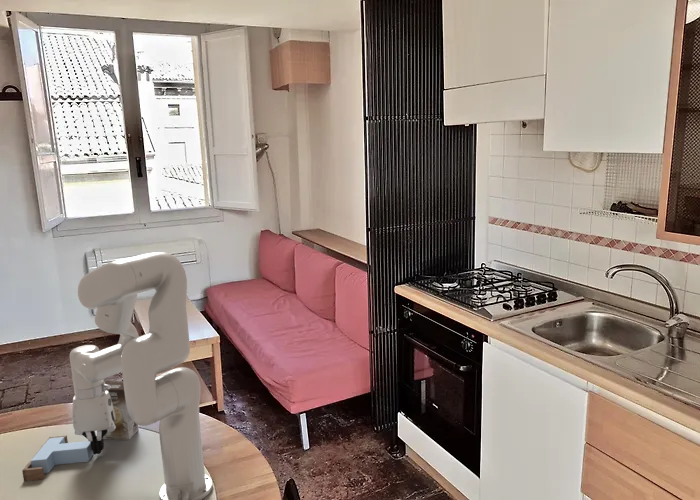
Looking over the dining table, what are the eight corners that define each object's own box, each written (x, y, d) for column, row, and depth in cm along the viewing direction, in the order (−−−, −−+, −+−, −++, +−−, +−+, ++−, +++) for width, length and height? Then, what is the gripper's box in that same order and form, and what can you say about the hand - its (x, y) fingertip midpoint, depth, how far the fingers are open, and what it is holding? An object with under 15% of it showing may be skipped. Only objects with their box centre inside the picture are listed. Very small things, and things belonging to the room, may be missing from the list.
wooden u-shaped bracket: (43, 478, 146) (41, 468, 146) (23, 481, 145) (22, 470, 145) (68, 444, 163) (66, 435, 163) (51, 446, 163) (49, 437, 162)
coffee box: (100, 439, 165) (93, 389, 163) (111, 429, 172) (105, 380, 169) (129, 440, 164) (123, 389, 162) (140, 429, 171) (134, 380, 168)
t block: (83, 469, 150) (81, 455, 149) (32, 474, 148) (30, 460, 148) (98, 446, 161) (96, 433, 161) (51, 451, 160) (49, 438, 159)
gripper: (121, 382, 157) (129, 442, 160) (66, 387, 155) (75, 447, 158) (114, 393, 150) (122, 456, 153) (55, 398, 148) (65, 462, 151)
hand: (98, 451), depth 156 cm, fingers closed
